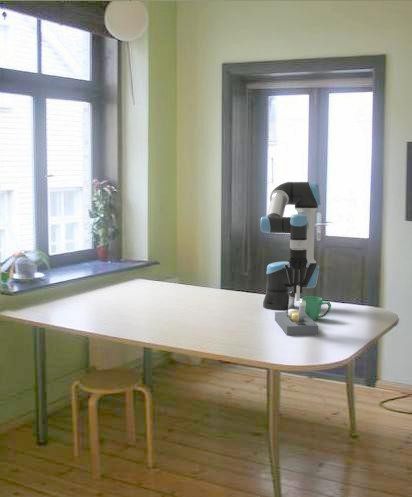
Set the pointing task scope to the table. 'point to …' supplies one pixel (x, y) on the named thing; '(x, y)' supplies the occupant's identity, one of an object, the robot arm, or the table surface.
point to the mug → (315, 307)
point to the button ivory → (292, 312)
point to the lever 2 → (301, 311)
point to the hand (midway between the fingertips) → (297, 300)
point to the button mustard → (295, 317)
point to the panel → (296, 325)
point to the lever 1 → (291, 300)
